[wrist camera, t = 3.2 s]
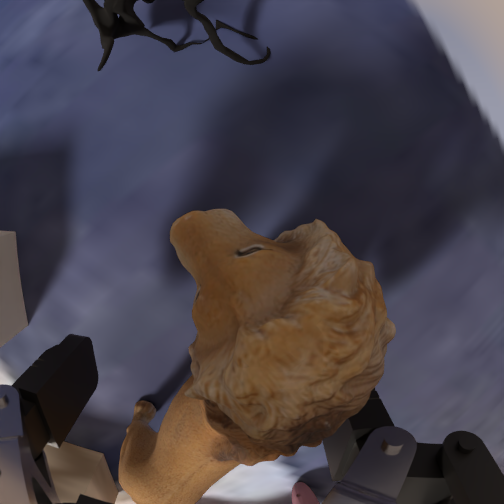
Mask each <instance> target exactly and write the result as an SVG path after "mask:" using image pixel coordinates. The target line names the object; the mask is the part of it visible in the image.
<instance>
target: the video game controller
mask: <svg viewBox="0 0 504 504" xmlns="http://www.w3.org/2000/svg"><path fill="white" fill-rule="evenodd" d="M292 504H320V503H319V501H318V500H317V498H316V496H315V494H314V493H313V492H312V490H311V489H310V488H309V487H308V486H307V485H306V484H305V483H303V482H297V483H295V484H294V486H293V488H292Z"/></svg>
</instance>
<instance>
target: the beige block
mask: <svg viewBox="0 0 504 504" xmlns="http://www.w3.org/2000/svg"><path fill="white" fill-rule="evenodd" d="M27 326H28V321H27V316H26V310H25V305H24V299H23V293H22V286H21V279H20V272H19V263H18V254H17V243H16V232H14V231H0V348H1V347H2V346H3V345H4V344H5V343H7V342H8V341H9V340H10V339H12V338H13V337H14V336H15V335H17V334H18V333H19V332H20V331H22V330H23V329H24V328H25V327H27Z"/></svg>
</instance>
